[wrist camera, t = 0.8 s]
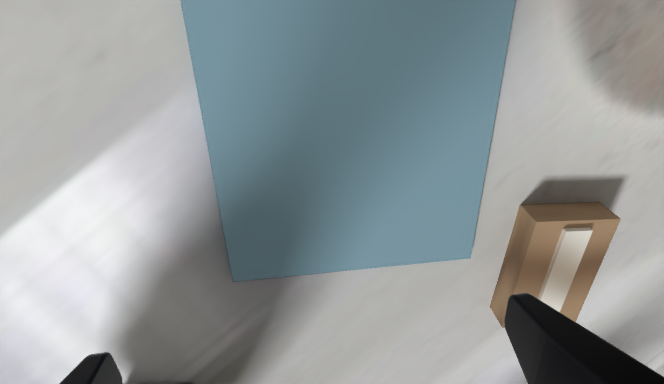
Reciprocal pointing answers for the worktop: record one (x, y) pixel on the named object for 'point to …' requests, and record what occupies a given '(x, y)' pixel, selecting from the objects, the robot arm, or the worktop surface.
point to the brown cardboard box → (555, 255)
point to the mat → (347, 127)
